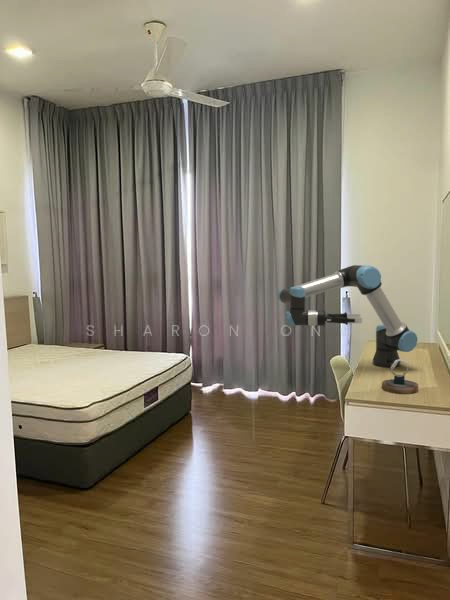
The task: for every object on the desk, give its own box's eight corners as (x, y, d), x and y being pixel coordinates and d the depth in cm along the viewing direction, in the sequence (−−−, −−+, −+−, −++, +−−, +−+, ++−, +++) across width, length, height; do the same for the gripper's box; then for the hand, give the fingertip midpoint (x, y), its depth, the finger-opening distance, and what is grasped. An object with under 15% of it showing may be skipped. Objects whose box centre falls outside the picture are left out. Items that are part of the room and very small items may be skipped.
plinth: (393, 382, 236) (393, 376, 235) (424, 389, 223) (424, 383, 223) (375, 388, 226) (375, 382, 225) (406, 396, 213) (406, 389, 213)
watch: (390, 380, 228) (390, 358, 227) (408, 382, 225) (408, 359, 224) (389, 383, 223) (389, 360, 222) (408, 385, 220) (408, 361, 219)
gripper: (317, 322, 252) (359, 322, 247) (316, 329, 228) (362, 330, 223) (317, 307, 251) (359, 308, 246) (316, 313, 227) (362, 314, 222)
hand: (361, 318), depth 235 cm, fingers open, 13 cm apart
